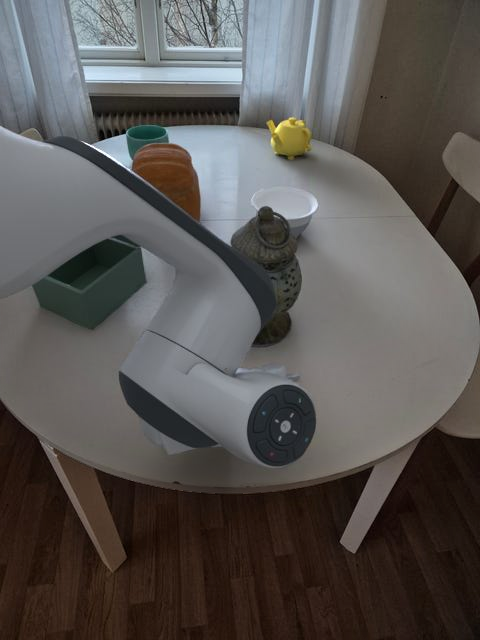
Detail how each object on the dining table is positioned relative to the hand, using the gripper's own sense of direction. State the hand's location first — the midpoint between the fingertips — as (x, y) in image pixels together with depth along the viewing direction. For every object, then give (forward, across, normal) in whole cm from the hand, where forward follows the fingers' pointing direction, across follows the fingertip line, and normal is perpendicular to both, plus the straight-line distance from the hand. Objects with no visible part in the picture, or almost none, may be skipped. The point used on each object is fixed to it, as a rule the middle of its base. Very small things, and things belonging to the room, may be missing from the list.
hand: (202, 393), depth 64 cm
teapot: (+64, -62, -56) cm, 106 cm away
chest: (+30, +10, -22) cm, 38 cm away
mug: (+69, -18, -61) cm, 94 cm away
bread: (+47, -13, -39) cm, 62 cm away
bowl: (+34, -37, -26) cm, 57 cm away
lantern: (+15, -17, -7) cm, 24 cm away
